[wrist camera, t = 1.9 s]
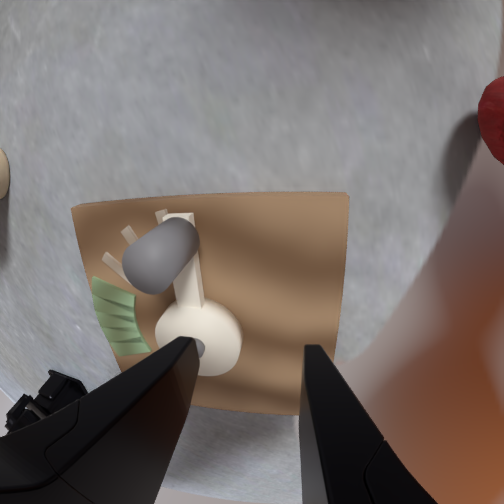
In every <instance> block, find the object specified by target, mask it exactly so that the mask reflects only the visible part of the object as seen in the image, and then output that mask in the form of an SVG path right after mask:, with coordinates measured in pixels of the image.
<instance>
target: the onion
mask: <svg viewBox="0 0 504 504" xmlns="http://www.w3.org/2000/svg"><path fill="white" fill-rule="evenodd" d="M478 124H479V128H480V132H481V136H482V138H483V140H484V142H485V143H486V145H487V146H488V148H489V150H490V151H491V153H492V155H493V156H494V157H495V158H496V159H497V160H498V161H500V162H501V163H502V164H503V165H504V76H503V77H500V78H498V79H495V80H494V81H493V82H491V83H490V84H489V85H488V86H486V88H485V90H484V92H483V94H482V97H481V99H480V102H479V104H478Z"/></svg>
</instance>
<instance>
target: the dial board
mask: <svg viewBox="0 0 504 504" xmlns="http://www.w3.org/2000/svg"><path fill="white" fill-rule="evenodd" d="M71 212H72V217H73V222H74V227H75V232H76V236H77V241H78V245H79V249H80V253H81V257H82V261H83V265H84V268H85V272H86V275H87V279H88V282H89V286H90V289H91V292H92V297H93V303H94V308H95V312H96V315H97V318H98V321H99V324H100V326H101V328H102V330H103V332H104V334H105V336H106V338H107V340H108V342H109V343H110V346H111V349H112V351H113V353H114V356H115V358H116V361H117V363H118V365H119V368H120V370H121V372H124V371H125V370H127V369H128V368H130V367H132V366H133V365H135V364H136V363H138V362H140V361H141V360H143V359H144V358H146V357H147V356H149V355H151V354H152V353H154V352H155V351H157V350H158V349H160V348H159V346H158V344H157V341H156V337H155V328H156V324H157V322H158V321H159V319H160V318H161V316H162V315H163V314H164V312H165V311H166V309H167V308H168V307H169V305H170V304H171V303H173V302H174V301H176V295H175V290H174V285H173V282H172V283H171V284H170V286H169V287H168V288H167V289H166V290H165V291H164V292H162V293H160V294H155V295H151V294H146V293H143V292H141V291H139V290H138V289H136V288H135V287H134V286H133V285H132V284H131V283H130V282H129V281H128V279H127V278H126V276H125V274H124V271H123V268H122V257H123V253H124V251H125V250H126V248H127V247H128V246H130V245H131V244H132V243H134V242H135V241H137V240H138V239H139V238H141V237H142V236H144V235H145V234H146V233H148V232H149V231H151V230H152V229H153V228H155V227H156V226H158V225H159V224H161V223H162V222H163V218H162V217H164V216H165V215H167V214H173V213H193V214H194V223H195V228H196V230H197V232H198V234H199V238H200V245H199V249H198V255H199V263H200V271H201V278H202V285H203V292H204V297H205V298H208V299H211V300H214V301H216V302H218V303H220V304H221V305H223V306H225V307H226V308H227V309H228V310H230V311H231V312H232V313H233V314H234V316H235V317H236V318H237V320H238V321H239V323H240V325H241V328H242V331H243V343H242V347H241V350H240V354H239V357H238V360H237V362H236V364H235V366H234V367H233V368H232V369H231V370H229V371H228V372H226V373H224V374H221V375H217V376H200V375H198V376H197V380H196V384H195V388H194V392H193V396H192V400H191V404H190V405H195V406H201V407H207V408H214V409H222V410H230V411H239V412H249V413H261V414H277V415H299V410H300V395H301V377H302V362H303V349H304V345H305V344H319V345H321V346H322V348H323V349H324V350H325V352H326V353H327V355H328V356H329V358H330V359H331V361H332V362H333V360H334V354H335V348H336V341H337V334H338V327H339V319H340V311H341V303H342V294H343V284H344V274H345V262H346V249H347V234H348V214H349V196H348V195H347V193H345V192H246V193H216V194H195V195H177V196H162V197H148V198H136V199H125V200H114V201H104V202H95V203H86V204H80V205H77V206H75V207H72V208H71Z"/></svg>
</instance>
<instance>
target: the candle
mask: <svg viewBox="0 0 504 504" xmlns="http://www.w3.org/2000/svg"><path fill="white" fill-rule="evenodd" d="M9 181H10V171H9V164H8V160H7V157H6V155H5V153H4V151H3V150H2V149H0V199H2V198H3V197H4V196H5V195H6V193H7V191H8V187H9Z"/></svg>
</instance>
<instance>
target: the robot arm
mask: <svg viewBox="0 0 504 504" xmlns="http://www.w3.org/2000/svg"><path fill="white" fill-rule="evenodd" d="M199 367H200V359H199V354H198V350H197V345H196V341H195V339H194V338H193V337H187V336H179V337H177V338H175V339H174V340H172V341H171V342H169V343H168V344H166V345H165V346H163V347H161V348H160V349H158V350H157V351H155V352H154V353H152V354H151V355H149V356H147V357H146V358H144V359H143V360H141V361H140V362H138V363H136V364H135V365H133V366H132V367H130V368H128V369H127V370H125V371H124V372H122V373H121V374H119V375H117V376H116V377H114V378H112V379H111V380H109V381H108V382H106V383H104V384H103V385H101V386H100V387H98V388H96V389H95V390H93V391H91V392H90V393H88V394H87V392H86V390H85V388H84V387H83V385H82V383H81V382H80V381H79V380H76V379H74V378H71V377H68V376H66V375H63V374H60V373H58V372H55V371H53V370H49V371H48V373H49V375H50V378H49V379H48V380H47V381H46V382H45V384H44V385H43V386H42V387H41V388H40V390H39V391H38V393H39V394H38V396H37V397H36V398H35V399H33V397H32V396H31V395H29V396H27V395H26V394H23V396H22V397H21V398H20V399H19V400H18V401H17V403H16V404H15V405H14V406H13V407H12V408H11V409H10V410H9V412H8V413H7V414H6V415H7V421H6V422H7V424H6V425H5V427H6V428H7V429H8V430H9V431H8V433H7V434H6V435H5V436H2V437H0V504H154V502H155V500H156V497H157V494H158V492H159V489H160V487H161V484H162V481H163V479H164V476H165V473H166V471H167V468H168V466H169V463H170V460H171V458H172V455H173V452H174V450H175V447H176V445H177V442H178V439H179V437H180V434H181V431H182V429H183V426H184V424H185V421H186V418H187V415H188V412H189V408H190V404H191V400H192V396H193V392H194V388H195V384H196V380H197V376H198V371H199ZM25 407H27V408H28V409H25ZM299 440H300V458H301V477H302V501H303V504H438V503H437V502H436V501H435V500H434V499H433V498H432V497H431V496H430V495H429V494H428V492H427V491H425V489H424V488H423V487H422V486H421V485H420V484H419V483H418V482H417V480H416V479H415V478H414V477H413V476H412V475H411V473H410V472H409V471H408V470H407V469H406V467H405V466H404V465H403V463H402V462H401V461H400V459H399V458H398V457H397V455H396V454H395V453H394V451H393V450H392V448H391V447H390V445H389V444H388V442H387V441H386V440H384V437H383V435H382V434H381V432H380V431H379V429H378V428H377V426H376V425H375V423H374V422H373V421H372V419H371V418H370V416H369V415H368V413H367V412H366V410H365V409H364V407H363V406H362V404H361V403H360V401H359V400H358V398H357V397H356V396H355V394H354V393H353V391H352V390H351V388H350V387H349V385H348V384H347V382H346V381H345V380H344V378H343V377H342V375H341V374H340V372H339V371H338V369H337V368H336V366H335V365H334V364H333V362H332V361H331V359H330V358H329V356H328V355H327V353H326V352H325V350H324V349H323V348H322V346H321V345H319V344H305V345H304V349H303V362H302V377H301V395H300V410H299ZM383 440H384V441H383Z"/></svg>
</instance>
